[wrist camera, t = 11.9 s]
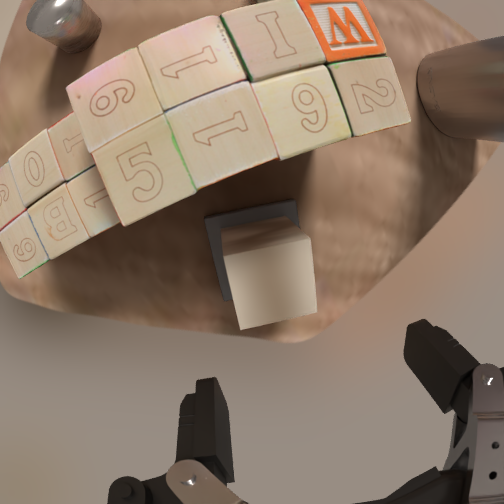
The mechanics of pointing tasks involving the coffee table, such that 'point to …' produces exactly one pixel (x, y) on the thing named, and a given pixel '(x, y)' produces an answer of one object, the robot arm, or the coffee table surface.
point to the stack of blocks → (196, 118)
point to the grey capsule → (64, 23)
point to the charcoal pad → (238, 218)
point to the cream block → (269, 271)
